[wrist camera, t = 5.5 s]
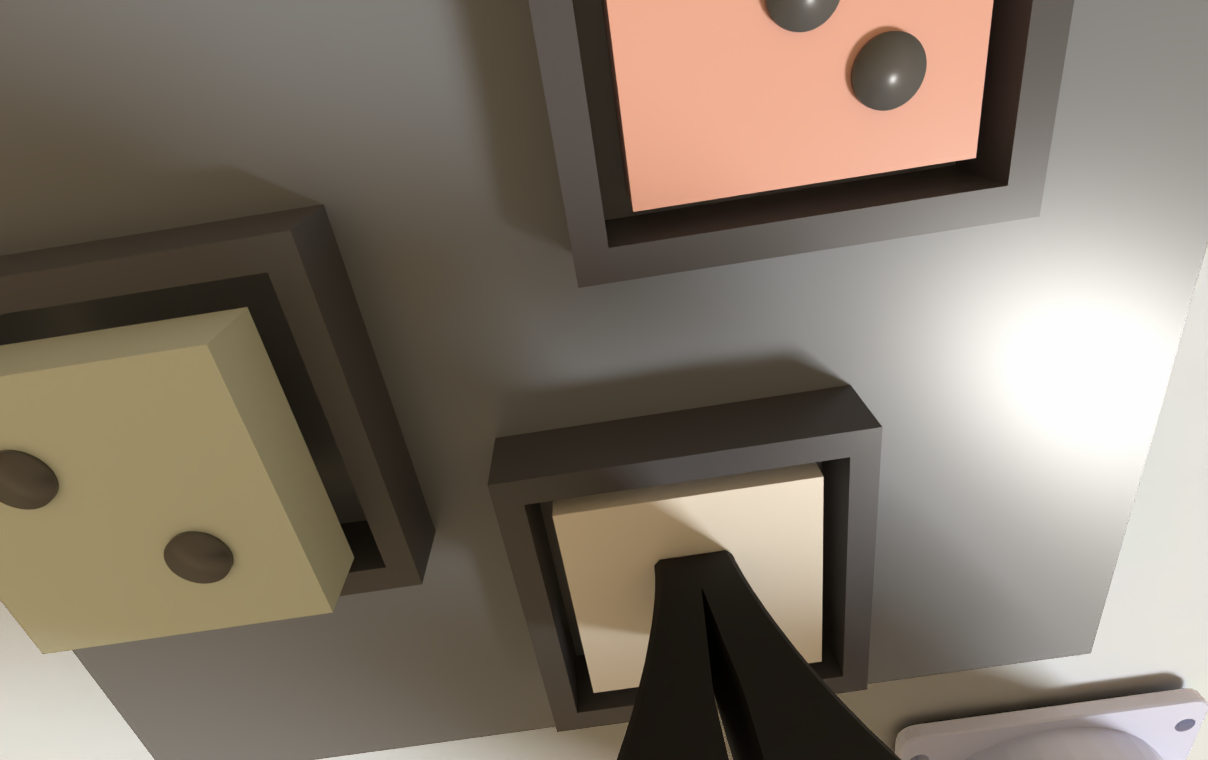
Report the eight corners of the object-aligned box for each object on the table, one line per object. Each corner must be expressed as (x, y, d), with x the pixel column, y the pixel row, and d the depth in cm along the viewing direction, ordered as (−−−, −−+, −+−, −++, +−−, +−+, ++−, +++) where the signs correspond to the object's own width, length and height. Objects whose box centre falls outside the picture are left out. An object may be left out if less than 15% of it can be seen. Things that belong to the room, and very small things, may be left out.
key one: (803, 615, 15) (823, 665, 14) (591, 644, 15) (593, 697, 14) (801, 437, 13) (825, 480, 11) (553, 474, 13) (552, 520, 11)
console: (1063, 619, 17) (1134, 706, 15) (189, 740, 17) (137, 841, 15) (1326, -435, 8) (1589, -591, 6) (-414, -123, 9) (-724, -165, 7)
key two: (354, 557, 12) (330, 617, 10) (90, 595, 12) (39, 659, 11) (246, 306, 9) (202, 348, 8) (-76, 357, 9) (-165, 405, 8)
